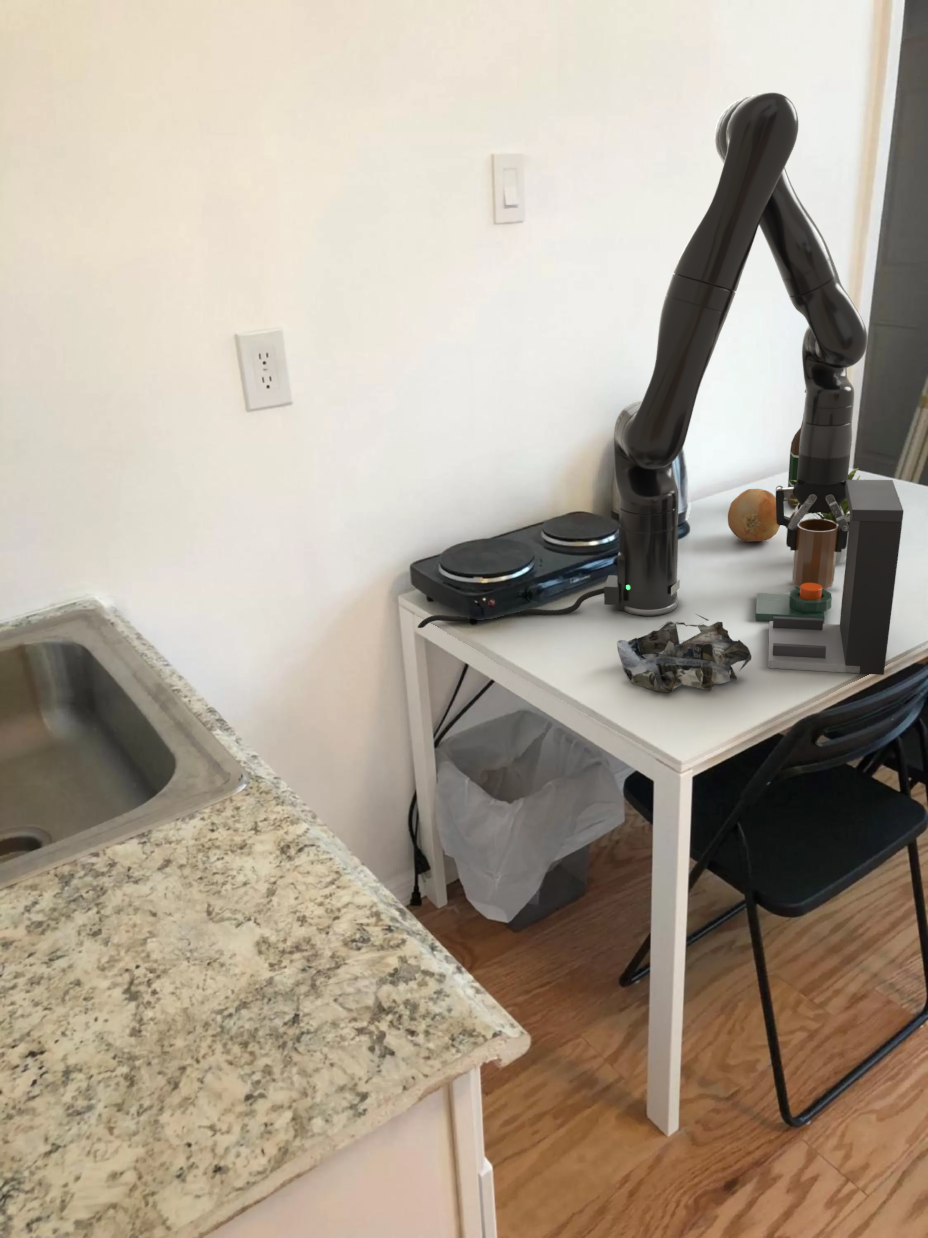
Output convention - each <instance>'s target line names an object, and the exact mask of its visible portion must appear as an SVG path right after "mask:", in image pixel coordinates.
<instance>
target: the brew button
mask: <svg viewBox="0 0 928 1238" xmlns="http://www.w3.org/2000/svg"><path fill="white" fill-rule="evenodd" d="M799 588H800V597H801V598H803V599H807V600H817V599H821V596H822V586H821V585H819V584H816V583H804V584H802V585H801V586H800V587H799Z"/></svg>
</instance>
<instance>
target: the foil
mask: <svg viewBox="0 0 928 1238" xmlns="http://www.w3.org/2000/svg"><path fill="white" fill-rule="evenodd" d="M695 615H696V616H698V617H700V618H701V619H703V620H705V621H704V622H707V621H708V622H709V621H710V619H709V618H707V617H704V616H701V615H700V614H698V613H695ZM704 622H701V623H699V624H686V623H685V622H683V621H682V622H679V621H676V622H673V621H671V620H670V621H667V622H666V623H663V624H662V625H661V626H659V629H658V630H651V632H649V633H648V634H646V635H643V636H640V637H638V638H637V637H634V638H633V639H630V640H626V639H620V640H617V642H616V647H617V653H618V656H619V658H620V662H621V665H622V668H623V671H624V673H625V675H626V676H627V679H629V682H630V683H631V684H633V685H634V686H639V687H640V686H641V687H644V688H645V689H650V690H652V691H656V692H657V693H658V692H659V693H672V692H673V690H676V689H677V688H679V687H680V686H682V685H683V686H688V687H693V688H697V689H701V690H705V691H712V690H713V688H714V685H721V684H725V683H729V682H730V681H733V680H734V681H737V680H738V678H737V675H736V672H735V671H734V669H733V666H732V665H735V664H736V663H739V662H743V664H742V666H741V667H740V669H739V671H741V670H742V669H743V668H744V667H745V666H746V665H747V664H748V663H750V661H752V654H751V651H750V649H749V647H748V646H747V645H746V644H745V643H743V642H742V641H741V640H740V639H738V640H733V639H732V638H731V637H730V635H729V630H727V629H725V628H724V624H723V621H716V622H714V623H712V624H711V625H706V624H705V623H704ZM703 623H704V624H703ZM678 625H679V626H680V625H684V626H685V627H697V628H698V629H699V633H696V634H694V635H693V636H691V637H690V638H688V639H686V640H683V641H681V642H680V639H679V632H678V627H677V626H678Z"/></svg>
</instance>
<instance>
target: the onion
mask: <svg viewBox="0 0 928 1238" xmlns="http://www.w3.org/2000/svg"><path fill="white" fill-rule="evenodd" d="M727 525H728V527H729V529H730V531H731V532H732V533H733V535H734V536H735V537H736V538H738V539H739V540H740V541H741V542H767V541H769V540H770V539H772V538H773V537H774V536H775V535H776V534H777V533H778V532H779V529H780V527H781V525H778V524H777V520H776V495H774V494H773V493H772V492H770V491H768V490H766V489H762V488H748V489H746V490H744V491H742V492H741V493H740V494H739V495H737V496H736V497H735V498H733V500H732V502H731V503H730V506H729V509H728V511H727Z"/></svg>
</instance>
